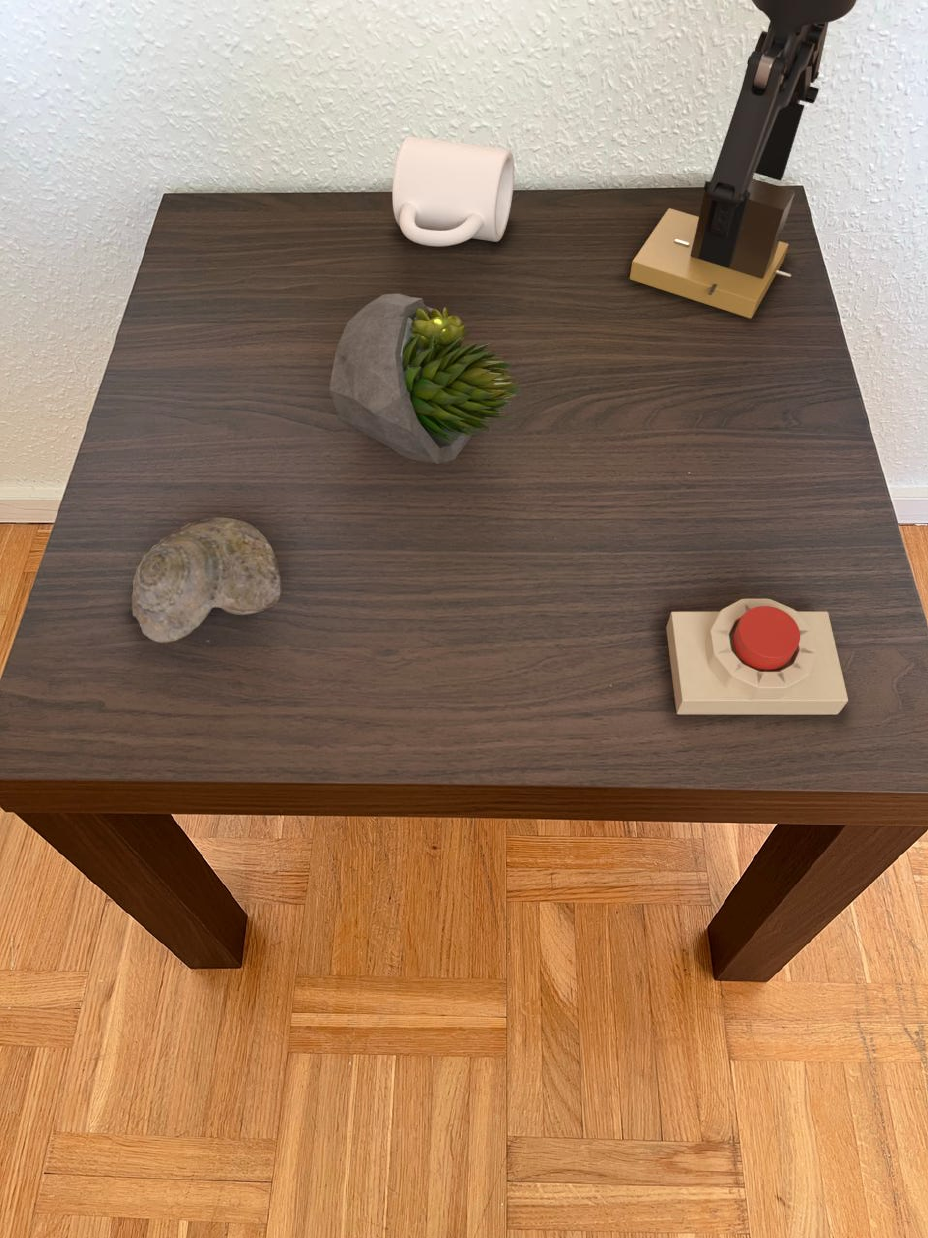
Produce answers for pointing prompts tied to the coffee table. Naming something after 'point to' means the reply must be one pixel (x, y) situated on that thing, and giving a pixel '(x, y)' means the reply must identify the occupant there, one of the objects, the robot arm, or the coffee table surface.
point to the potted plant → (416, 379)
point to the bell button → (766, 638)
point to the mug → (451, 191)
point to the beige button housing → (731, 686)
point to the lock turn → (754, 227)
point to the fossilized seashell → (203, 577)
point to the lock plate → (698, 269)
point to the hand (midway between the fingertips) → (742, 216)
